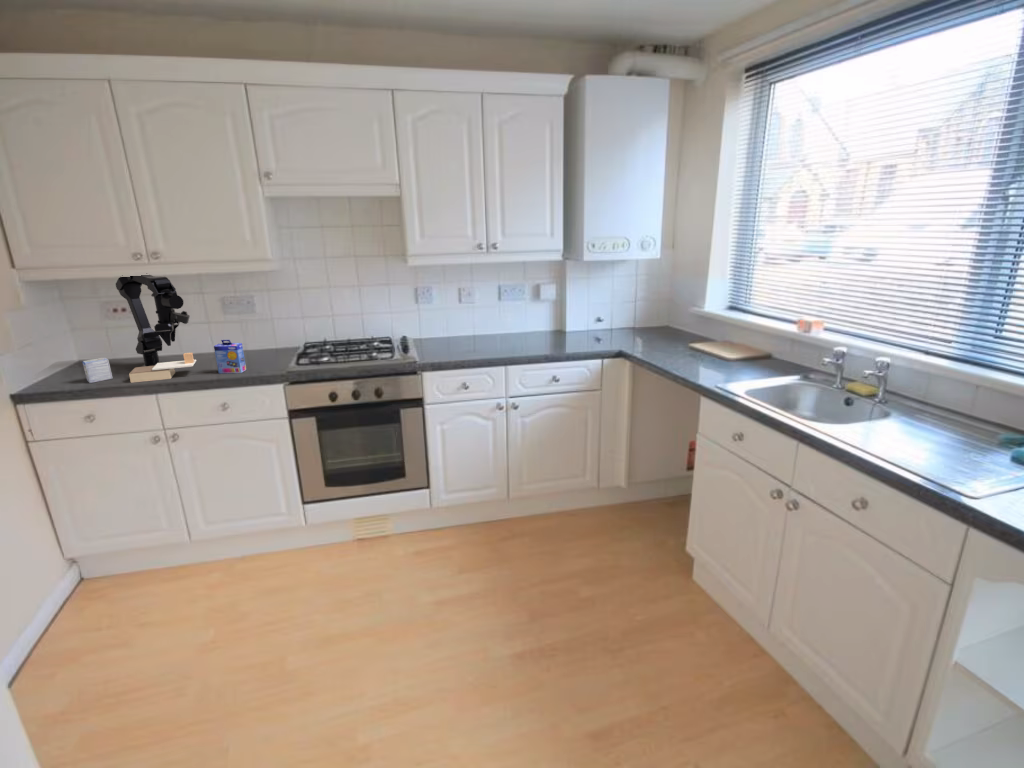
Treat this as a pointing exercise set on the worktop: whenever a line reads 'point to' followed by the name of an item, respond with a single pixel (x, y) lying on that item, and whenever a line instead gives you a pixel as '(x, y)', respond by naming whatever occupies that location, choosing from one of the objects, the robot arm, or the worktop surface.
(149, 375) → the carton
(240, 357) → the ink cartridge box
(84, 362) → the medicine box
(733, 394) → the worktop surface
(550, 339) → the worktop surface
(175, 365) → the lid
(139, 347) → the robot arm
